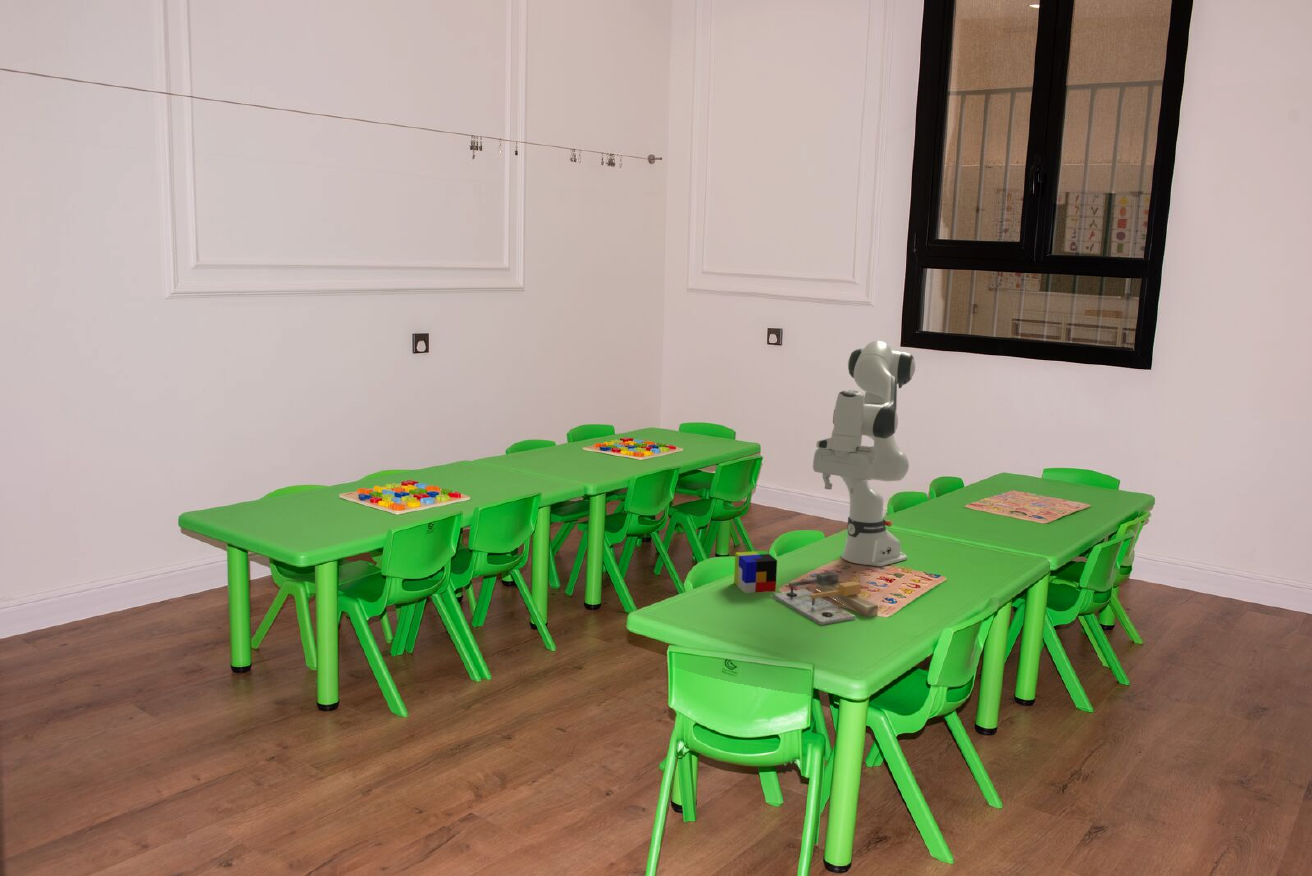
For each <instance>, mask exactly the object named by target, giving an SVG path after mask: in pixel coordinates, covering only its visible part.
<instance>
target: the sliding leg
mask: <svg viewBox="0 0 1312 876" xmlns="http://www.w3.org/2000/svg"><path fill="white" fill-rule="evenodd" d="M838 585H839V587H838V590H834V591H828V592H822V593H820V592H817V593H814V594H810V598H811V599H812V605H815V598H819V597H821V598H826V597H827V596H832V595H838V594H841V595H842V596H850V595H860V594H861V593H862V592H861V590H862V584H861V583H859V582H857V581H855V580H854V581H847V582H841V583H838Z"/></svg>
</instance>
